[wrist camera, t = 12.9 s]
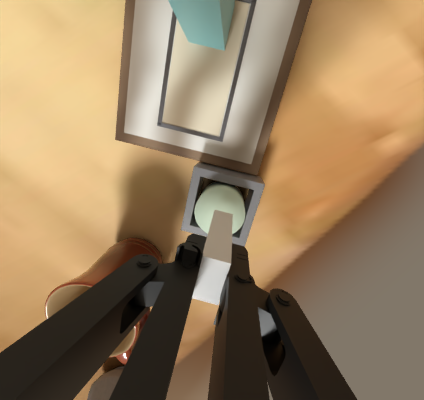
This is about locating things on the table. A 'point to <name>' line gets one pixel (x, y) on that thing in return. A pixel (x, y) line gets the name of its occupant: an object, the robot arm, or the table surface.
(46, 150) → the table surface
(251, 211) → the button frame
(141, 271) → the robot arm
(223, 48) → the grey and mint block
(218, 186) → the button
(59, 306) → the mug
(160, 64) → the picture frame
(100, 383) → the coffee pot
